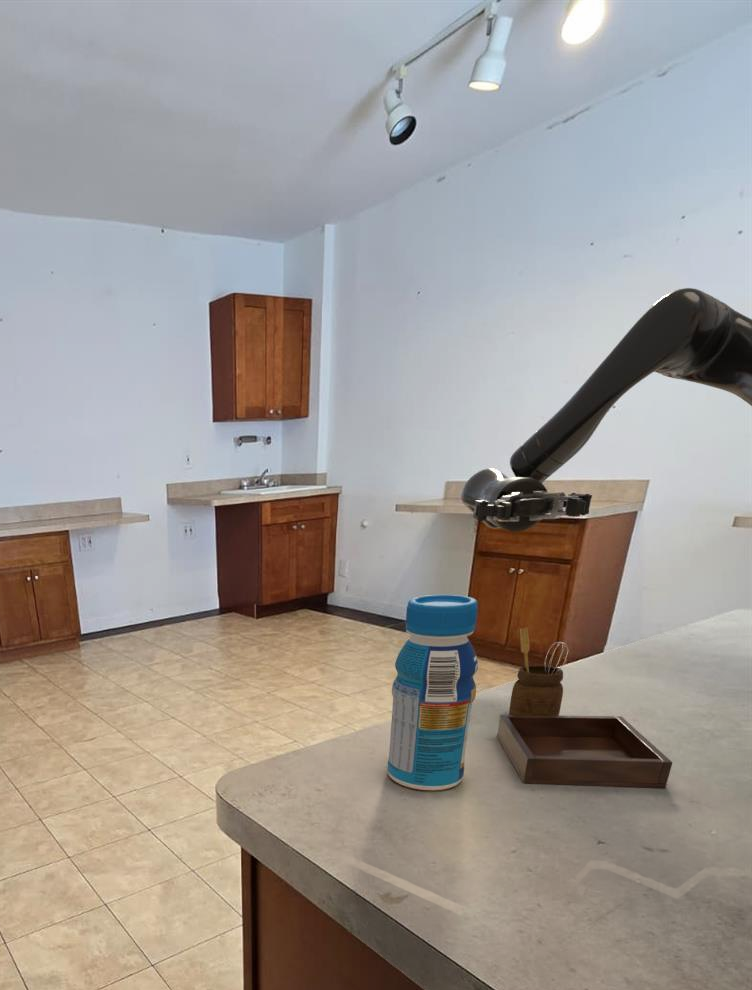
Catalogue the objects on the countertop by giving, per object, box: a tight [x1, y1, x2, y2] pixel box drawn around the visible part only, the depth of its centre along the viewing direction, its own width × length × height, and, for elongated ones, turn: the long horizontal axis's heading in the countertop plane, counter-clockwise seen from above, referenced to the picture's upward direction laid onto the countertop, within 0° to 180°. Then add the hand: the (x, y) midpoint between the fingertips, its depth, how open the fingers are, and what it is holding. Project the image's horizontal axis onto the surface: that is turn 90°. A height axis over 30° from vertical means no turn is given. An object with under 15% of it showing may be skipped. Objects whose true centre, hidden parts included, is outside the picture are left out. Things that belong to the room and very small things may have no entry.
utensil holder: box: [508, 626, 570, 716], centre depth 84 cm, size 6×6×12 cm
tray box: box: [496, 714, 673, 789], centre depth 74 cm, size 14×14×3 cm
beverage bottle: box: [386, 594, 479, 791], centre depth 69 cm, size 8×8×20 cm
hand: (543, 510), depth 85 cm, fingers open, 8 cm apart
